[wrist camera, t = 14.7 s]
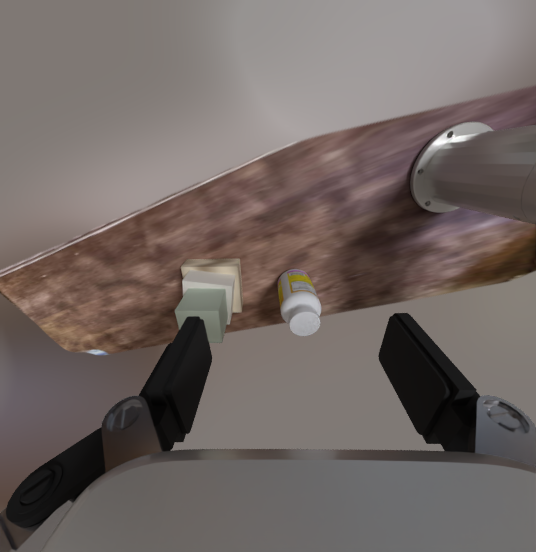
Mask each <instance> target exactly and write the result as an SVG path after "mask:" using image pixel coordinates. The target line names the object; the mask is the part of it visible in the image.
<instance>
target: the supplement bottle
mask: <svg viewBox="0 0 536 552" xmlns="http://www.w3.org/2000/svg"><path fill="white" fill-rule="evenodd" d="M278 293H279V301H280V309H281V315H282V317H283V319H284V320H285V322H287V323H288V324H289V327H290V329H291V331H292V332H293V333H294V334H296V335H298V336H308V335H311V334H313V333H315V332H316V331H317V330H318V329H319V327H320V319H319V316H320V313H321V304H320V301H319V299H318V297H317V294H316V292H315V289H314V287H313V285H312V282H311V280H310V278H309V276H308V275H307V274H306V273H305V272H304V271H302V270H298V269H291V270H288V271H286V272H284V273H283V274H282V275H281V276H280V278H279V280H278Z"/></svg>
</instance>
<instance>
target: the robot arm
mask: <svg viewBox="0 0 536 552" xmlns="http://www.w3.org/2000/svg"><path fill="white" fill-rule="evenodd" d="M410 189H411V193H412V197H413V198H414V200H415V202H416V203H417V204H418V205H419V206H420V207H422V208H423V209H425V210H428V211H431V212H436V213H445V212H450V211H453V210H456V209H459V208H464V209H469V210H473V211H478V212H482V213H487V214H491V215H496V216H500V217H505V218H509V219H514V220H518V221H523V222H527V223H532V224H536V125H533V126H526V127H519V128H512V129H505V130H498V131H494V130H493V129H492V128H490V127H489V126H488V125H486V124H483V123H480V122H466V123H461V124H457V125H454V126H452V127H449V128H447V129H445V130H444V131H442V132H441V133H439V134H438V135H437V136H435V137H434V138H433V139H432V140H431V141H430V142H429V143H428V144H427V145H426V146H425V147H424V149H423V150H422V152H421V153H420V155H419V156H418V158H417V160H416V162H415V164H414V167H413V170H412V173H411V179H410ZM379 361H380V363H381V365H382V367H383V369H384V371H385V373H386V374H387V376H388V378H389V380H390V382H391V384H392V385H393V387H394V389H395V391H396V393H397V395H398V397H399V399H400V401H401V403H402V405H403V406H404V408H405V410H406V412H407V414H408V416H409V418H410V420H411V421H412V423H413V425H414V427H415V429H416V431H417V432H418V433H419V434H420V435H422V436H423V438H424V439H425V441H426V443H427V444H441V445H442V447H443V449H444V450H445V451H412V450H411V451H410V450H409V451H408V450H329V449H328V450H326V449H324V450H323V449H318V450H317V449H200V450H199V449H198V450H176V451H170V450H171V449H172V448H173V445H174V442H183V441H184V438H185V435H186V434H188V433H190V430H191V428H192V424H193V421H194V418H195V415H196V411H197V408H198V405H199V402H200V398H201V395H202V392H203V389H204V385H205V382H206V379H207V376H208V372H209V369H210V366H211V362H212V355H211V350H210V346H209V341H208V337H207V332H206V328H205V324H204V320H203V319H200V317H199V316H188V317H187V318H186V319H185V321H184V323H183V325H182V326H181V328H180V330H179V332H178V334H177V335H176V337H175V339H174V341H173V343H170V344H168V346H167V347H166V349H165V351H164V352H163V354H162V356H161V358H160V359H159V361H158V363H157V365H156V366H155V368H154V370H153V372H152V373H151V375H150V377H149V378H148V380H147V382H146V384H145V386H144V387H143V389H142V391H141V393H140V394H139V396H131V397H127V398H125V399H123V400H121V401H120V402H118V403H117V404H115V405H114V406H113V407H112V408H111V409H110V410H109V411H108V413H107V414H106V415H105V417H104V419H103V421H102V427H101V428H99V429H97V430H96V431H94V432H93V433H91V434H90V435H88V436H87V437H85V438H84V439H82V440H81V441H79V442H77V443H76V444H74V445H73V446H71V447H70V448H68V449H67V450H65V451H64V452H62V453H61V454H59V455H57V456H56V457H55V458H53V459H51V460H50V461H48V462H47V463H45V464H44V465H42V466H40V467H39V468H38V469H36V470H35V471H34V472H32V473H31V474H30V475H29V476H28V477H27V478H26V479H25V480H24V481H23V482H22V483H21V484H20V485H19V487H18V488H17V489H16V490H15V492H14V493H13V495H12V497H11V499H10V500H9V502H8V505H7V507H6V508H5V509H4V510H3V511H2V512H1V513H0V552H536V427H535V425H534V423H533V422H532V421H531V419H530V418H529V417H528V416H527V415H526V414H525V413H524V412H523V411H521V410H520V409H519V408H517V407H516V406H514V405H513V404H511V403H509V402H508V401H506V400H504V399H501V398H498V397H495V396H490V395H484V396H479V394H478V393H477V392H476V389H475V388H474V387H473V385H472V384H471V383H470V382H469V381H468V380H467V379H466V378H465V376H464V375H463V374H462V373H461V372H460V371H459V370H458V368H457V367H456V366H455V365H454V364H453V363H452V362H451V361H450V359H449V358H448V357H447V356H446V355H445V354H444V353H443V352H442V351H441V349H440V348H439V347H438V346H437V345H436V344H435V343H434V341H432V339H431V338H430V337H429V336H428V335H427V334H426V333H425V332H424V330H423V329H422V328H421V327H420V326H419V325H418V324H417V322H416V321H415V320H414V319H413V318H412V317H411V316H410V315H409V314H408V313H395V314H394V315H393V316H391V317H390V318H389V321H388V325H387V328H386V331H385V335H384V338H383V342H382V345H381V348H380V352H379Z"/></svg>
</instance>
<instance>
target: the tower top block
mask: <svg viewBox="0 0 536 552" xmlns="http://www.w3.org/2000/svg"><path fill="white" fill-rule="evenodd" d="M182 283H183V296H184V295H185V293H186V292H187V290H188V288H213V289H225V290H226V301H227V312H228V320H227V324H230V321H231V316H232V312H233V300H234V288H235V275H231V274H222V273H214V272H205V271H196V270H190V271H189V272H188V273H187V275H186V276H185V278H184V279H183V281H182Z"/></svg>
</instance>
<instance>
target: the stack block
mask: <svg viewBox="0 0 536 552" xmlns="http://www.w3.org/2000/svg"><path fill="white" fill-rule="evenodd" d="M175 314H176V318H177V323H178V327H179V330H180V328H181V326H182V325H183V323H184V321H185V319H186V318H187V317H188V316H199V317H200V319H203V320H204V324H205V328H206V332H207V337H208V341H209V343H222V341H223V336H224V333H225V328H226V324H227V320H228V312H227V301H226V290H225V289H213V288H188V290H187V292H186V293H185V295H184V296H183V298H182V300H181V301H180V303H179V305H178V306H177V308H176V309H175Z"/></svg>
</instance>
